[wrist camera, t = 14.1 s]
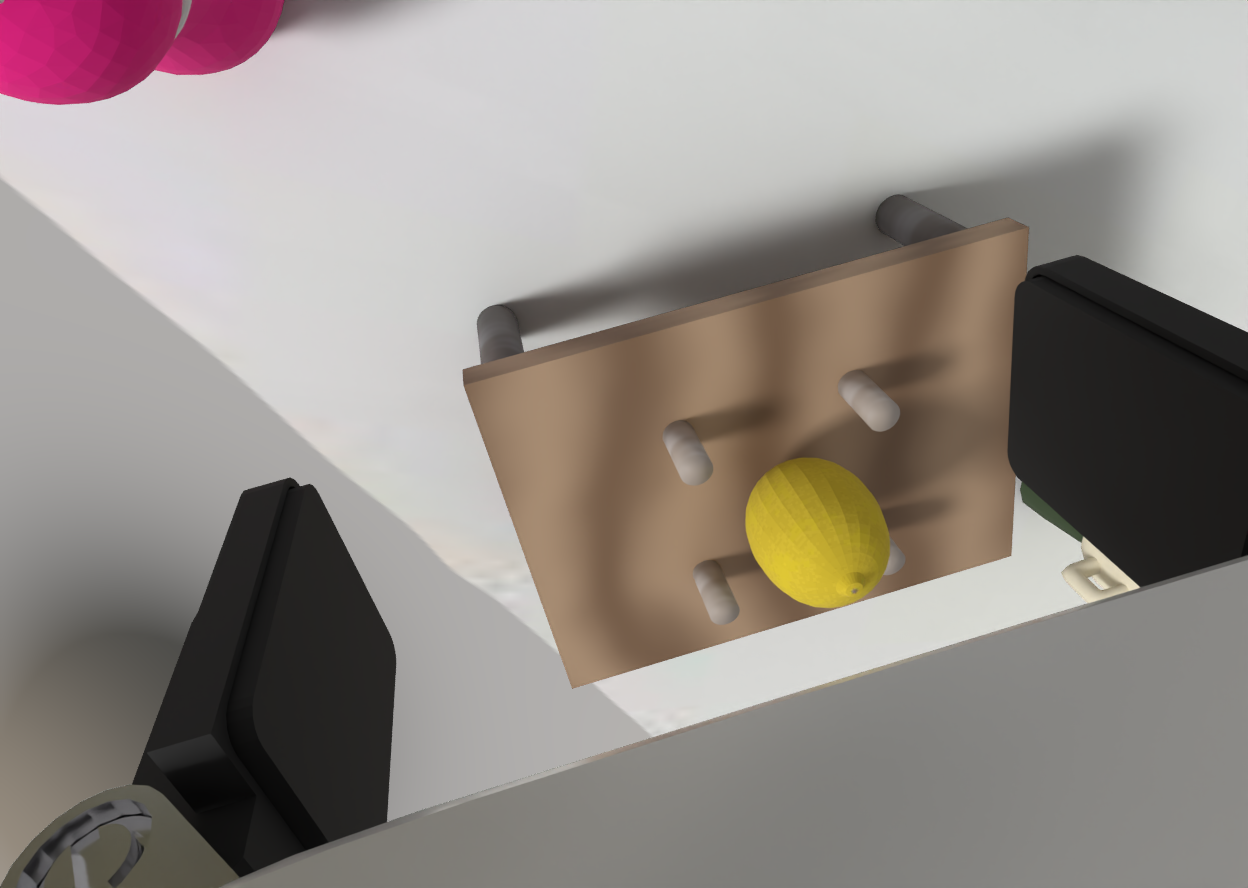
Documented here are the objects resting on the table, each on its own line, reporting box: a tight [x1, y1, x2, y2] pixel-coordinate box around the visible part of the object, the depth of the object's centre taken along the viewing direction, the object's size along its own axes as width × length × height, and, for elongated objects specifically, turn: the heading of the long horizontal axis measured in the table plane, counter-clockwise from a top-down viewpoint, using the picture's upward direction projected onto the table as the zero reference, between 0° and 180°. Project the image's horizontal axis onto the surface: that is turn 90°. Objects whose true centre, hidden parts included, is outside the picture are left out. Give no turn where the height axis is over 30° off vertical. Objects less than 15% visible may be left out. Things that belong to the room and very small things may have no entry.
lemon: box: [745, 458, 890, 608], centre depth 35 cm, size 6×6×8 cm
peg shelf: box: [463, 195, 1029, 689], centre depth 41 cm, size 24×18×12 cm
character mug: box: [1020, 482, 1140, 603], centre depth 48 cm, size 11×7×13 cm, turn 106°
